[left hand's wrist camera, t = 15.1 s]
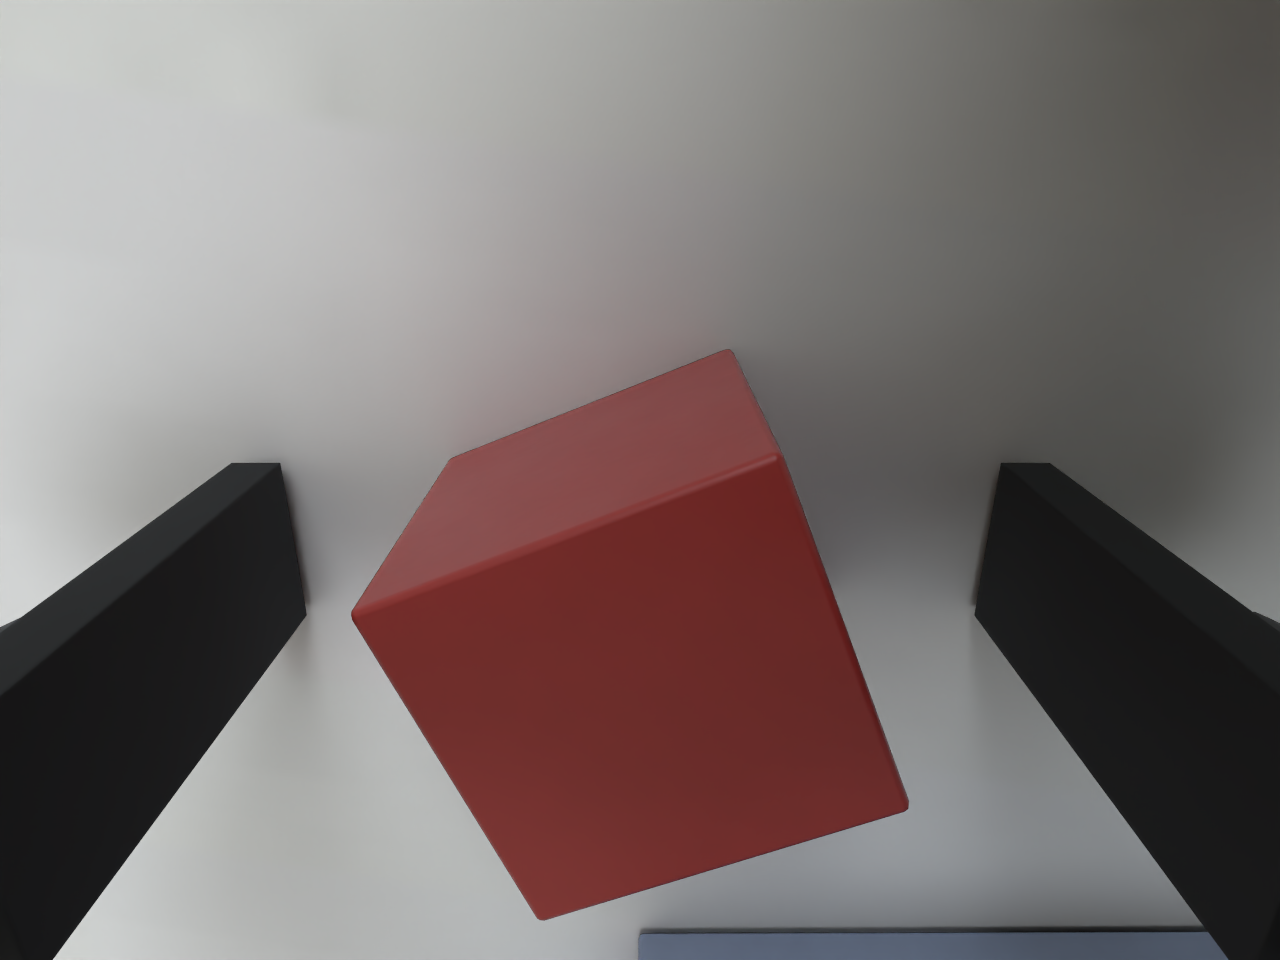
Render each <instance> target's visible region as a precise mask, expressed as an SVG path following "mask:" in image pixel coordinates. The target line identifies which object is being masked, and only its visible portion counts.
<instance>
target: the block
mask: <svg viewBox="0 0 1280 960" xmlns="http://www.w3.org/2000/svg"><path fill="white" fill-rule="evenodd" d="M351 616H352V620H353V622H354V624H355V625H356V627H357V628H358V630H359V632H360V633H361V635H362V636H363V638H364V640H365V641H366V643H367V645H368V646H369V648H370V649H371V651H372V653H373V654H374V656H375V657H376V659H377V661H378V662H379V664H380V666H381V667H382V669H383V670H384V672H385V674H386V675H387V677H388V678H389V680H390V682H391V683H392V685H393V687H394V688H395V690H396V691H397V693H398V695H399V696H400V698H401V699H402V701H403V703H404V704H405V706H406V707H407V709H408V711H409V712H410V714H411V716H412V717H413V719H414V720H415V722H416V724H417V725H418V727H419V728H420V730H421V732H422V733H423V735H424V737H425V738H426V740H427V741H428V743H429V745H430V746H431V748H432V749H433V751H434V753H435V754H436V756H437V758H438V759H439V761H440V762H441V764H442V766H443V767H444V769H445V770H446V772H447V774H448V775H449V777H450V778H451V780H452V782H453V783H454V785H455V787H456V788H457V790H458V791H459V793H460V795H461V796H462V798H463V799H464V801H465V803H466V804H467V806H468V808H469V809H470V811H471V812H472V814H473V816H474V817H475V819H476V820H477V822H478V824H479V825H480V827H481V829H482V830H483V832H484V833H485V835H486V837H487V838H488V840H489V841H490V843H491V845H492V846H493V848H494V850H495V851H496V853H497V854H498V856H499V858H500V859H501V861H502V862H503V864H504V866H505V867H506V869H507V870H508V872H509V874H510V875H511V877H512V879H513V880H514V882H515V883H516V885H517V887H518V888H519V890H520V891H521V893H522V895H523V896H524V898H525V900H526V901H527V903H528V904H529V906H530V908H531V909H532V911H533V912H534V914H535V916H536V917H537V919H539V920H547V919H551V918H554V917H557V916H561V915H564V914H567V913H571V912H574V911H577V910H580V909H584V908H587V907H590V906H594V905H597V904H600V903H604V902H607V901H610V900H614V899H617V898H620V897H624V896H627V895H630V894H633V893H637V892H640V891H643V890H647V889H650V888H653V887H657V886H660V885H663V884H667V883H670V882H673V881H676V880H680V879H683V878H686V877H690V876H693V875H696V874H700V873H703V872H706V871H710V870H713V869H716V868H719V867H723V866H726V865H729V864H733V863H736V862H739V861H743V860H746V859H749V858H753V857H756V856H759V855H763V854H766V853H769V852H772V851H776V850H779V849H782V848H786V847H789V846H792V845H796V844H799V843H802V842H806V841H809V840H812V839H815V838H819V837H822V836H825V835H829V834H832V833H835V832H839V831H842V830H845V829H849V828H852V827H855V826H858V825H862V824H865V823H868V822H872V821H875V820H878V819H882V818H885V817H888V816H892V815H895V814H898V813H901V812H905V811H906V810H907V809H908V805H909V800H908V797H907V794H906V792H905V789H904V786H903V783H902V781H901V778H900V775H899V772H898V770H897V767H896V764H895V761H894V759H893V756H892V753H891V750H890V748H889V745H888V742H887V739H886V737H885V734H884V731H883V728H882V726H881V723H880V720H879V717H878V715H877V712H876V709H875V706H874V704H873V701H872V698H871V695H870V693H869V690H868V687H867V684H866V682H865V679H864V676H863V673H862V671H861V668H860V665H859V662H858V660H857V657H856V654H855V651H854V649H853V646H852V643H851V640H850V638H849V635H848V632H847V629H846V627H845V624H844V621H843V618H842V616H841V613H840V610H839V607H838V605H837V602H836V599H835V596H834V594H833V591H832V588H831V585H830V583H829V580H828V577H827V574H826V572H825V569H824V566H823V563H822V561H821V558H820V555H819V552H818V550H817V547H816V544H815V541H814V539H813V536H812V533H811V530H810V528H809V525H808V522H807V519H806V517H805V514H804V511H803V508H802V506H801V503H800V500H799V497H798V495H797V492H796V489H795V486H794V484H793V481H792V478H791V475H790V473H789V470H788V467H787V464H786V462H785V459H784V456H783V454H782V452H781V450H780V448H779V446H778V444H777V442H776V440H775V438H774V436H773V434H772V432H771V430H770V427H769V425H768V423H767V421H766V419H765V417H764V415H763V413H762V411H761V409H760V407H759V405H758V403H757V401H756V399H755V397H754V395H753V392H752V390H751V388H750V386H749V384H748V382H747V380H746V378H745V376H744V374H743V372H742V370H741V368H740V366H739V364H738V362H737V360H736V357H735V355H734V353H733V352H732V351H731V350H723V351H721V352H718V353H716V354H713V355H711V356H708V357H706V358H703V359H701V360H698V361H696V362H693V363H690V364H688V365H685V366H683V367H680V368H678V369H675V370H673V371H670V372H668V373H665V374H663V375H660V376H658V377H655V378H653V379H650V380H648V381H645V382H643V383H640V384H638V385H635V386H632V387H630V388H627V389H625V390H622V391H620V392H617V393H615V394H612V395H610V396H607V397H605V398H602V399H600V400H597V401H595V402H592V403H590V404H587V405H585V406H582V407H580V408H577V409H575V410H572V411H569V412H567V413H564V414H562V415H559V416H557V417H554V418H552V419H549V420H547V421H544V422H542V423H539V424H537V425H534V426H532V427H529V428H527V429H524V430H522V431H519V432H517V433H514V434H511V435H509V436H506V437H504V438H501V439H499V440H496V441H494V442H491V443H489V444H486V445H484V446H481V447H479V448H476V449H474V450H471V451H469V452H466V453H464V454H461V455H459V456H456V457H453V458H451V459H450V460H449V461H448V463H447V464H446V466H445V467H444V469H443V471H442V472H441V474H440V475H439V477H438V478H437V480H436V481H435V483H434V485H433V486H432V488H431V489H430V491H429V492H428V494H427V495H426V497H425V498H424V500H423V502H422V503H421V505H420V506H419V508H418V509H417V511H416V512H415V514H414V516H413V517H412V519H411V520H410V522H409V523H408V525H407V526H406V528H405V529H404V531H403V533H402V534H401V536H400V537H399V539H398V540H397V542H396V543H395V545H394V547H393V548H392V550H391V551H390V553H389V554H388V556H387V557H386V559H385V560H384V562H383V564H382V565H381V567H380V568H379V570H378V571H377V573H376V574H375V576H374V578H373V579H372V581H371V582H370V584H369V585H368V587H367V588H366V590H365V591H364V593H363V595H362V596H361V598H360V599H359V601H358V602H357V604H356V605H355V607H354V609H353V610H352V612H351Z"/></svg>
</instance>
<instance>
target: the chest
mask: <svg viewBox="0 0 1280 960" xmlns="http://www.w3.org/2000/svg"><path fill="white" fill-rule="evenodd" d="M638 960H1228V958H1227V957H1226V956H1225V954H1224V953H1223V952H1222V950H1221V949H1220V947H1219V946H1218V945H1217V943H1216V942H1215V941H1214V939H1213V938H1212V937H1211V935H1210V934H1209V933H1208V932H1032V933H725V934H641V935H640V937H639V948H638Z"/></svg>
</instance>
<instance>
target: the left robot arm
mask: <svg viewBox="0 0 1280 960" xmlns="http://www.w3.org/2000/svg"><path fill="white" fill-rule="evenodd" d="M305 617H306V609H305V603H304V597H303V592H302V586H301V580H300V574H299V569H298V563H297V557H296V551H295V546H294V540H293V534H292V528H291V522H290V517H289V511H288V505H287V499H286V494H285V488H284V482H283V476H282V471H281V465H280V463H231V464H230V465H228V466H227V467H226V468H224V469H223V470H221V471H220V472H219V473H217V474H216V475H215V476H213V477H212V478H211V479H209V480H208V481H206V482H205V483H204V484H202V485H201V486H200V487H198V488H197V489H196V490H194V491H193V492H191V493H190V494H189V495H187V496H186V497H185V498H183V499H182V500H181V501H179V502H178V503H176V504H175V505H174V506H172V507H171V508H170V509H168V510H167V511H166V512H164V513H163V514H161V515H160V516H159V517H157V518H156V519H155V520H153V521H152V522H151V523H149V524H148V525H146V526H145V527H144V528H142V529H141V530H140V531H138V532H137V533H136V534H134V535H133V536H131V537H130V538H129V539H127V540H126V541H125V542H123V543H122V544H121V545H119V546H118V547H116V548H115V549H114V550H112V551H111V552H110V553H108V554H107V555H106V556H104V557H103V558H101V559H100V560H99V561H97V562H96V563H95V564H93V565H92V566H91V567H89V568H88V569H86V570H85V571H84V572H82V573H81V574H80V575H78V576H77V577H76V578H74V579H73V580H71V581H70V582H69V583H67V584H66V585H65V586H63V587H62V588H61V589H59V590H58V591H57V592H55V593H54V594H52V595H51V596H50V597H48V598H47V599H46V600H44V601H43V602H42V603H40V604H39V605H37V606H36V607H35V608H33V609H32V610H31V611H29V612H28V613H27V614H25V615H24V616H22V617H21V618H19V619H17V620H15V621H12V622H10V623H8V624H6V625H4V626H2V627H0V960H53V958H54V957H55V956H56V954H57V953H58V952H59V950H60V949H61V948H62V946H63V945H64V944H65V942H66V941H67V940H68V938H69V937H70V935H71V934H72V933H73V931H74V930H75V929H76V927H77V926H78V925H79V923H80V922H81V921H82V919H83V918H84V916H85V915H86V914H87V912H88V911H89V910H90V908H91V907H92V906H93V904H94V903H95V902H96V900H97V899H98V897H99V896H100V895H101V893H102V892H103V891H104V889H105V888H106V887H107V885H108V884H109V883H110V881H111V880H112V878H113V877H114V876H115V874H116V873H117V872H118V870H119V869H120V868H121V866H122V865H123V864H124V862H125V861H126V860H127V858H128V857H129V855H130V854H131V853H132V851H133V850H134V849H135V847H136V846H137V845H138V843H139V842H140V841H141V839H142V838H143V836H144V835H145V834H146V832H147V831H148V830H149V828H150V827H151V826H152V824H153V823H154V822H155V820H156V819H157V817H158V816H159V815H160V813H161V812H162V811H163V809H164V808H165V807H166V805H167V804H168V803H169V801H170V800H171V798H172V797H173V796H174V794H175V793H176V792H177V790H178V789H179V788H180V786H181V785H182V784H183V782H184V781H185V780H186V778H187V777H188V775H189V774H190V773H191V771H192V770H193V769H194V767H195V766H196V765H197V763H198V762H199V761H200V759H201V758H202V756H203V755H204V754H205V752H206V751H207V750H208V748H209V747H210V746H211V744H212V743H213V742H214V740H215V739H216V737H217V736H218V735H219V733H220V732H221V731H222V729H223V728H224V727H225V725H226V724H227V723H228V721H229V720H230V718H231V717H232V716H233V714H234V713H235V712H236V710H237V709H238V708H239V706H240V705H241V704H242V702H243V701H244V700H245V698H246V697H247V695H248V694H249V693H250V691H251V690H252V689H253V687H254V686H255V685H256V683H257V682H258V681H259V679H260V678H261V676H262V675H263V674H264V672H265V671H266V670H267V668H268V667H269V666H270V664H271V663H272V662H273V660H274V659H275V657H276V656H277V655H278V653H279V652H280V651H281V649H282V648H283V647H284V645H285V644H286V643H287V641H288V640H289V638H290V637H291V636H292V634H293V633H294V632H295V630H296V629H297V628H298V626H299V625H300V624H301V622H302V621H303V620H304V618H305ZM975 617H976V618H977V619H978V621H979V622H980V623H981V625H982V626H983V628H984V629H985V630H986V632H987V633H988V634H989V636H990V637H991V638H992V640H993V641H994V642H995V644H996V645H997V646H998V648H999V649H1000V651H1001V652H1002V653H1003V655H1004V656H1005V657H1006V659H1007V660H1008V661H1009V663H1010V664H1011V665H1012V667H1013V668H1014V670H1015V671H1016V672H1017V674H1018V675H1019V676H1020V678H1021V679H1022V680H1023V682H1024V683H1025V684H1026V686H1027V687H1028V689H1029V690H1030V691H1031V693H1032V694H1033V695H1034V697H1035V698H1036V699H1037V701H1038V702H1039V703H1040V705H1041V706H1042V707H1043V709H1044V710H1045V712H1046V713H1047V714H1048V716H1049V717H1050V718H1051V720H1052V721H1053V722H1054V724H1055V725H1056V726H1057V728H1058V729H1059V731H1060V732H1061V733H1062V735H1063V736H1064V737H1065V739H1066V740H1067V741H1068V743H1069V744H1070V745H1071V747H1072V748H1073V750H1074V751H1075V752H1076V754H1077V755H1078V756H1079V758H1080V759H1081V760H1082V762H1083V763H1084V764H1085V766H1086V767H1087V768H1088V770H1089V771H1090V773H1091V774H1092V775H1093V777H1094V778H1095V779H1096V781H1097V782H1098V783H1099V785H1100V786H1101V787H1102V789H1103V790H1104V792H1105V793H1106V794H1107V796H1108V797H1109V798H1110V800H1111V801H1112V802H1113V804H1114V805H1115V806H1116V808H1117V809H1118V811H1119V812H1120V813H1121V815H1122V816H1123V817H1124V819H1125V820H1126V821H1127V823H1128V824H1129V825H1130V827H1131V828H1132V830H1133V831H1134V832H1135V834H1136V835H1137V836H1138V838H1139V839H1140V840H1141V842H1142V843H1143V844H1144V846H1145V847H1146V848H1147V850H1148V851H1149V853H1150V854H1151V855H1152V857H1153V858H1154V859H1155V861H1156V862H1157V863H1158V865H1159V866H1160V867H1161V869H1162V870H1163V872H1164V873H1165V874H1166V876H1167V877H1168V878H1169V880H1170V881H1171V882H1172V884H1173V885H1174V886H1175V888H1176V889H1177V891H1178V892H1179V893H1180V895H1181V896H1182V897H1183V899H1184V900H1185V901H1186V903H1187V904H1188V905H1189V907H1190V908H1191V909H1192V911H1193V912H1194V914H1195V915H1196V916H1197V918H1198V919H1199V920H1200V922H1201V923H1202V924H1203V926H1204V927H1205V928H1206V930H1207V931H1208V933H1209V934H1210V935H1211V937H1212V938H1213V939H1214V941H1215V942H1216V943H1217V945H1218V946H1219V947H1220V949H1221V950H1222V952H1223V953H1224V954H1225V956H1226V957H1227V958H1228V960H1280V623H1278V622H1276V621H1274V620H1272V619H1270V618H1267V617H1265V616H1263V615H1261V614H1259V613H1257V612H1252V611H1251V610H1249V609H1248V608H1247V607H1245V606H1244V605H1242V604H1241V603H1240V602H1238V601H1237V600H1236V599H1234V598H1233V597H1232V596H1230V595H1229V594H1227V593H1226V592H1225V591H1223V590H1222V589H1221V588H1219V587H1218V586H1217V585H1215V584H1214V583H1212V582H1211V581H1210V580H1208V579H1207V578H1206V577H1204V576H1203V575H1202V574H1200V573H1199V572H1197V571H1196V570H1195V569H1193V568H1192V567H1191V566H1189V565H1188V564H1187V563H1185V562H1184V561H1182V560H1181V559H1180V558H1178V557H1177V556H1176V555H1174V554H1173V553H1172V552H1170V551H1169V550H1167V549H1166V548H1165V547H1163V546H1162V545H1161V544H1159V543H1158V542H1157V541H1155V540H1154V539H1152V538H1151V537H1150V536H1148V535H1147V534H1146V533H1144V532H1143V531H1142V530H1140V529H1139V528H1137V527H1136V526H1135V525H1133V524H1132V523H1131V522H1129V521H1128V520H1127V519H1125V518H1124V517H1122V516H1121V515H1120V514H1118V513H1117V512H1116V511H1114V510H1113V509H1112V508H1110V507H1109V506H1107V505H1106V504H1105V503H1103V502H1102V501H1101V500H1099V499H1098V498H1097V497H1095V496H1094V495H1092V494H1091V493H1090V492H1088V491H1087V490H1086V489H1084V488H1083V487H1082V486H1080V485H1079V484H1077V483H1076V482H1075V481H1073V480H1072V479H1071V478H1069V477H1068V476H1067V475H1065V474H1064V473H1062V472H1061V471H1060V470H1058V469H1057V468H1056V467H1054V466H1053V465H1052V464H1050V463H1001V466H1000V472H999V478H998V484H997V489H996V495H995V501H994V507H993V512H992V518H991V524H990V530H989V535H988V541H987V547H986V553H985V558H984V564H983V570H982V576H981V581H980V587H979V593H978V598H977V604H976V610H975Z"/></svg>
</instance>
